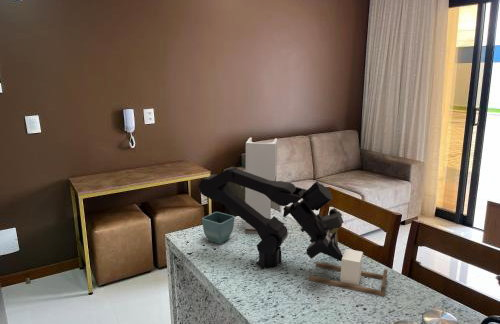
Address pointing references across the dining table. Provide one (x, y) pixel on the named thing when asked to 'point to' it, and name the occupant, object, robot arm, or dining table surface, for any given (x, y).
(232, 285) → the dining table surface
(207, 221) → the flower pot
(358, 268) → the cream block
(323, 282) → the board
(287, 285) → the dining table surface
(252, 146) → the tall white pillar
